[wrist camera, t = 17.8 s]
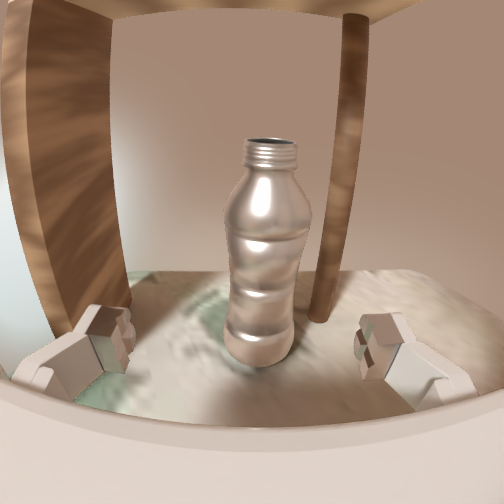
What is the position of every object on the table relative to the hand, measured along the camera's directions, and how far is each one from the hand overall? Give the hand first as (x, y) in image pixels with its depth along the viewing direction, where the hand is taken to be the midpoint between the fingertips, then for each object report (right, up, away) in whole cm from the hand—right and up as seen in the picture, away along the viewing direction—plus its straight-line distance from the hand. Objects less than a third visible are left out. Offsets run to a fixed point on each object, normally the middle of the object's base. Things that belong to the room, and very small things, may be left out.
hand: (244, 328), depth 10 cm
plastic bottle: (+1, -8, +20) cm, 21 cm away
